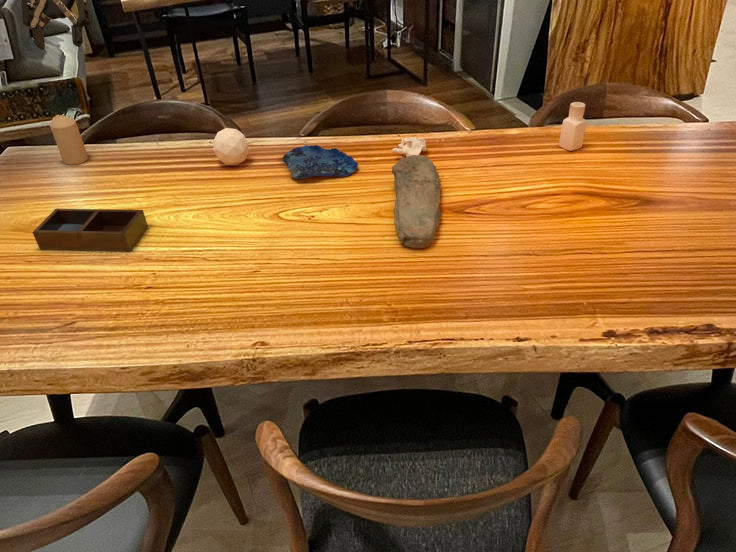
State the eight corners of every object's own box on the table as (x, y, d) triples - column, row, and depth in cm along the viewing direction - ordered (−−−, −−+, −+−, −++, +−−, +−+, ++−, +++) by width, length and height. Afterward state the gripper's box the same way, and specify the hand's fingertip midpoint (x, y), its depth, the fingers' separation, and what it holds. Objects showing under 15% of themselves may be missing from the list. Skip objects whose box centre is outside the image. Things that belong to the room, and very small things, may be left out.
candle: (93, 157, 146) (78, 113, 139) (76, 166, 142) (60, 122, 135) (76, 153, 147) (60, 110, 141) (58, 162, 144) (41, 119, 137)
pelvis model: (402, 130, 142) (430, 131, 140) (404, 148, 145) (431, 149, 143) (390, 143, 137) (419, 144, 134) (392, 162, 139) (420, 163, 137)
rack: (39, 249, 115) (32, 232, 112) (62, 225, 121) (55, 208, 119) (130, 251, 113) (124, 233, 111) (148, 226, 120) (143, 209, 117)
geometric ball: (242, 176, 142) (243, 157, 134) (208, 164, 140) (207, 144, 133) (253, 149, 144) (254, 128, 136) (219, 136, 142) (218, 115, 135)
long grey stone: (387, 256, 111) (442, 259, 111) (388, 231, 108) (445, 233, 108) (392, 164, 136) (437, 166, 136) (393, 141, 132) (440, 143, 132)
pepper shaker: (569, 142, 144) (577, 99, 137) (582, 147, 141) (591, 104, 135) (557, 146, 142) (564, 103, 136) (570, 152, 140) (578, 108, 133)
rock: (295, 185, 131) (294, 176, 129) (277, 156, 143) (276, 147, 142) (361, 174, 134) (361, 166, 133) (338, 147, 146) (337, 138, 145)
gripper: (8, -40, 131) (17, 42, 133) (72, -46, 129) (79, 37, 131) (32, -22, 138) (39, 55, 140) (92, -28, 136) (99, 51, 139)
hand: (58, 46), depth 136 cm, fingers open, 8 cm apart
